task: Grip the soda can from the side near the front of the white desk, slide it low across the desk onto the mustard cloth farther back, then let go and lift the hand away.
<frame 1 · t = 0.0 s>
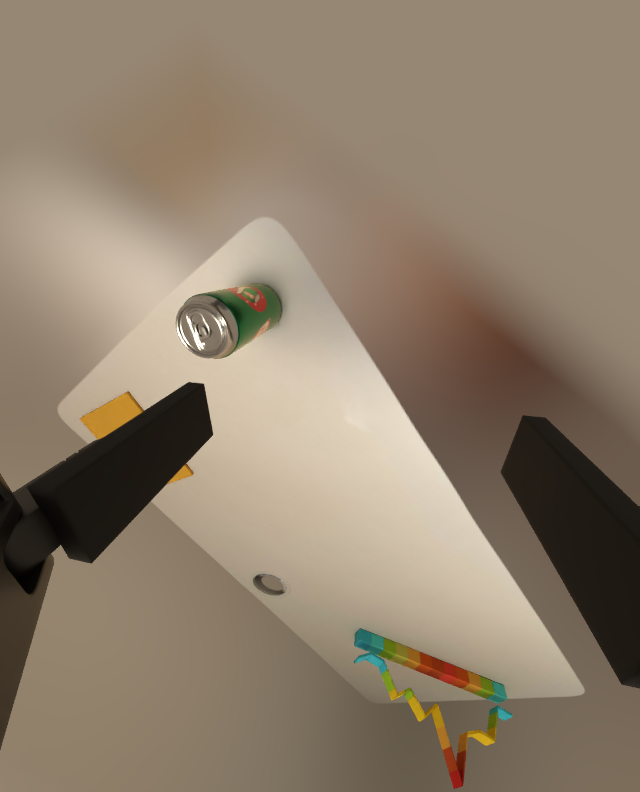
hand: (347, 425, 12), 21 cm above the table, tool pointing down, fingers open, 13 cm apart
soda can: (261, 306, 32), on the table
chart: (427, 658, 57), on the table
cloth: (138, 445, 45), on the table
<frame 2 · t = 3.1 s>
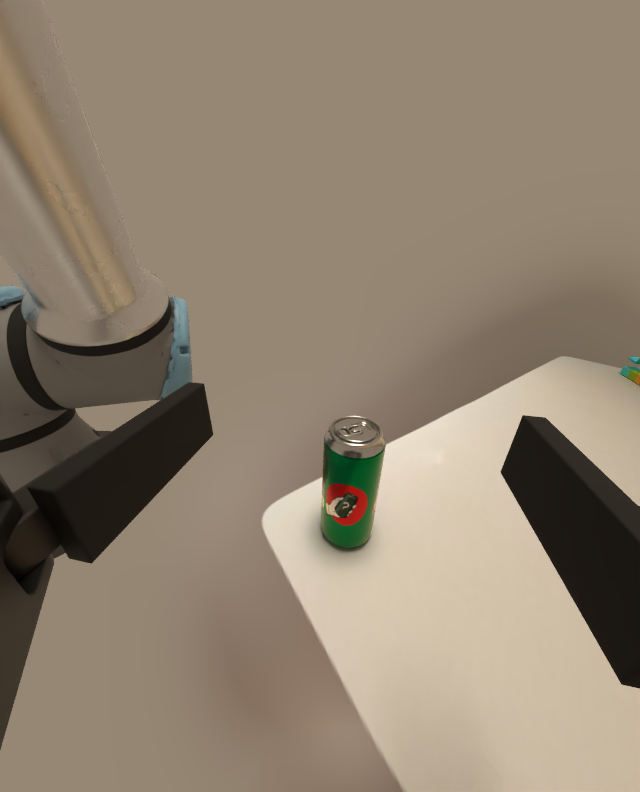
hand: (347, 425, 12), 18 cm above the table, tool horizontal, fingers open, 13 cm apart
soda can: (345, 529, 28), on the table
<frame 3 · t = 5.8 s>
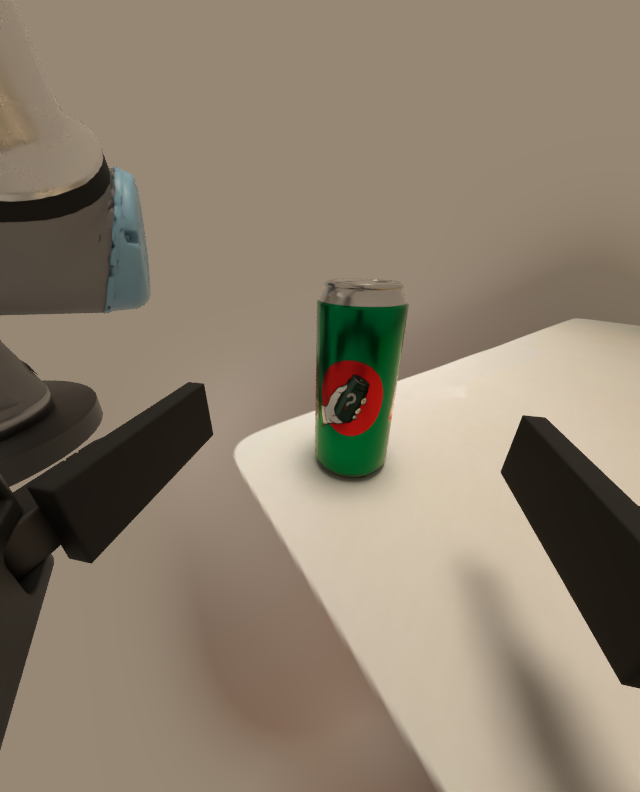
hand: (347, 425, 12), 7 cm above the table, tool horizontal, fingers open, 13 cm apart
soda can: (349, 459, 21), on the table
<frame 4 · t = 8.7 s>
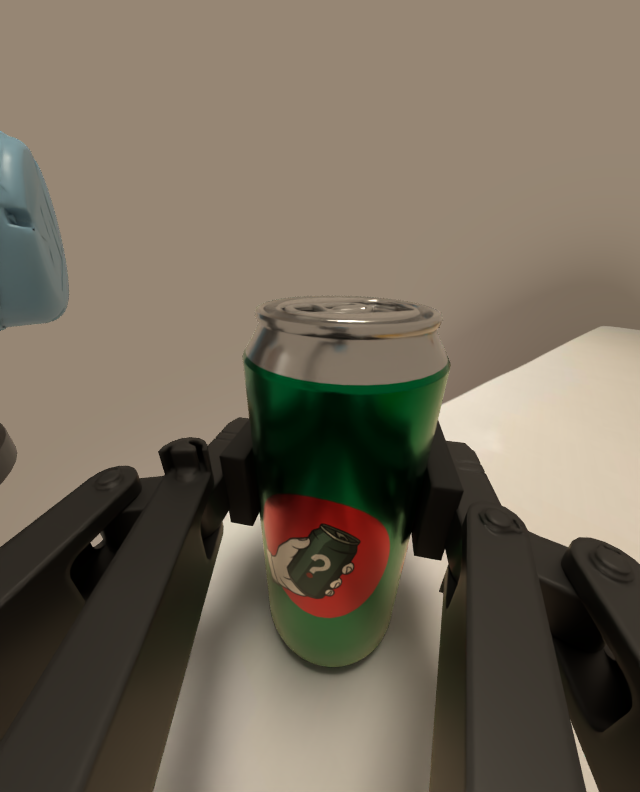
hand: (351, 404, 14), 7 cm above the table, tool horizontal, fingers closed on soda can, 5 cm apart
soda can: (329, 599, 12), on the table, touching gripper
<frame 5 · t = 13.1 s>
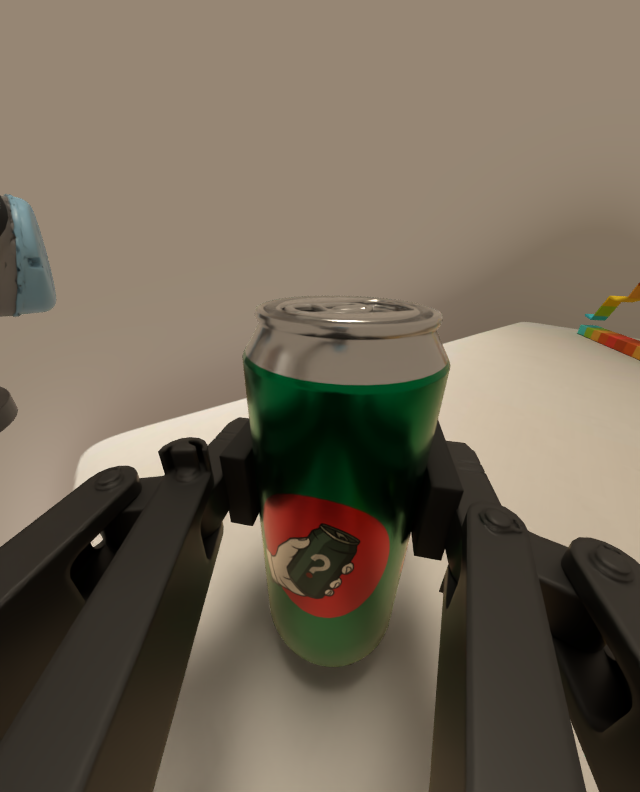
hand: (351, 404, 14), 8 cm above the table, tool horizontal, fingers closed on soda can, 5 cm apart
soda can: (329, 599, 12), point 1 cm above the table, touching gripper
chart: (631, 354, 51), on the table
when the fingers open (7 cm above the table, at t = 17.9 s): soda can stays where it is, resting on cloth.
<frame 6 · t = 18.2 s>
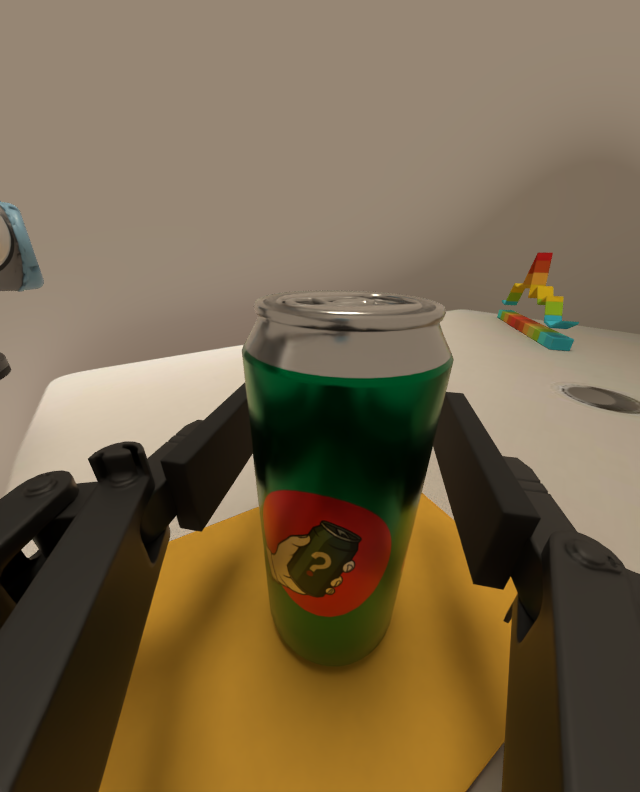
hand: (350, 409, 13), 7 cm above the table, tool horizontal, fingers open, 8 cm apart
soda can: (330, 598, 12), resting on cloth
chart: (525, 331, 61), on the table
cloth: (329, 599, 12), on the table
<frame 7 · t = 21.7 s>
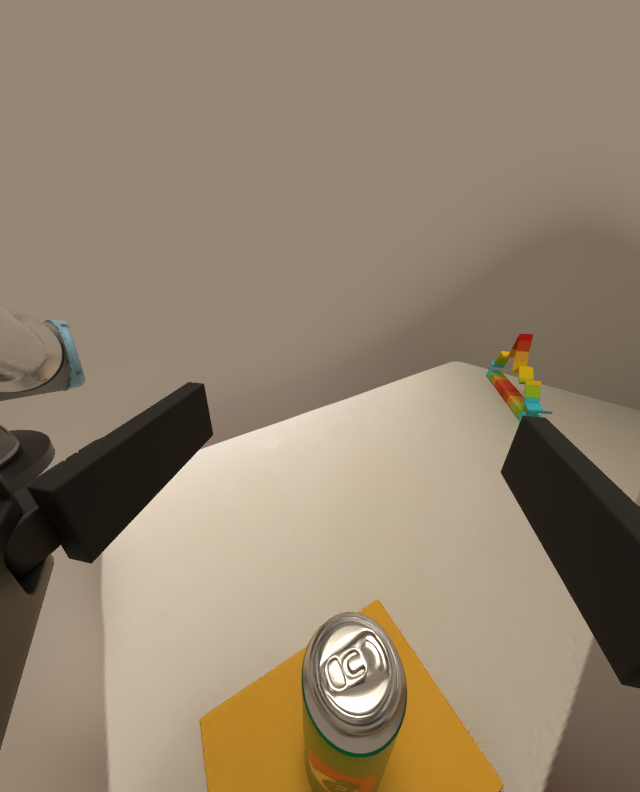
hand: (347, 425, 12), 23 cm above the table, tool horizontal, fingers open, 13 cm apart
soda can: (342, 751, 18), resting on cloth
chart: (510, 399, 67), on the table
cloth: (342, 751, 19), on the table
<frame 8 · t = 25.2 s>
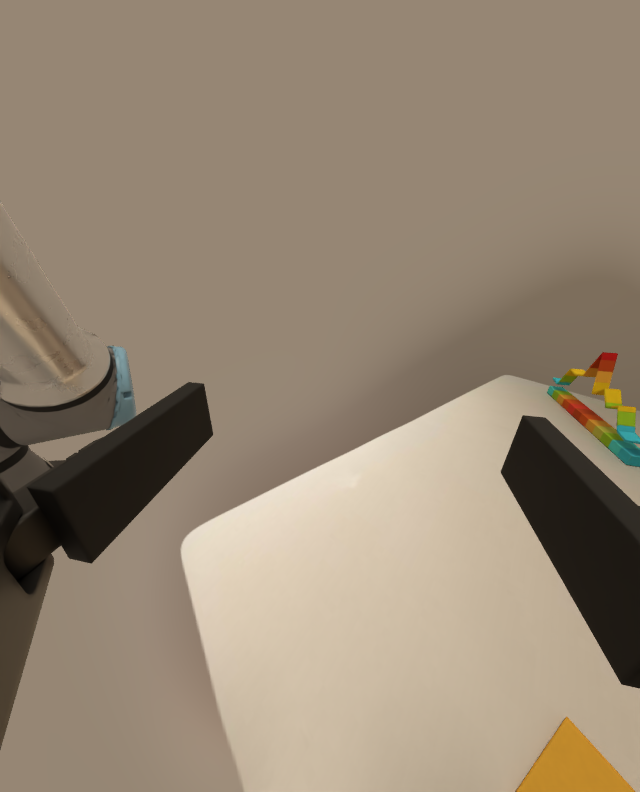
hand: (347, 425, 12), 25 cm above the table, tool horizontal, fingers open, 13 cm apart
chart: (586, 422, 62), on the table
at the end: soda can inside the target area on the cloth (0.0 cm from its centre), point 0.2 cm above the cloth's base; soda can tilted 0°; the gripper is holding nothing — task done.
